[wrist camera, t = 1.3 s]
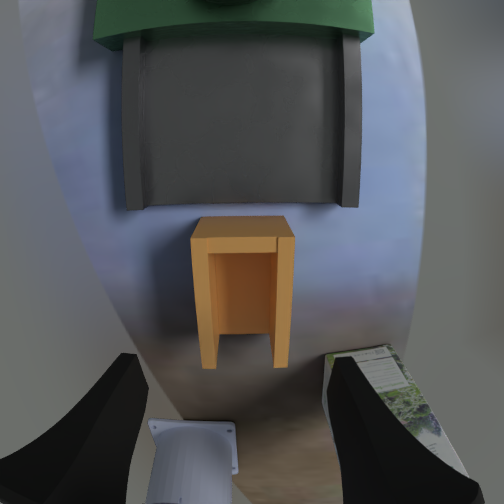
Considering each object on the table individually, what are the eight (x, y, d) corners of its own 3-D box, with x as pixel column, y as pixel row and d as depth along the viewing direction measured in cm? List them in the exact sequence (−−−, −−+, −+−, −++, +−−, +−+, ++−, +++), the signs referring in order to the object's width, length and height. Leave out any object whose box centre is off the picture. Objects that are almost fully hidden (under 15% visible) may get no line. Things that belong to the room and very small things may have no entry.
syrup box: (319, 402, 25) (357, 551, 11) (323, 350, 23) (380, 523, 9) (380, 390, 25) (439, 524, 11) (391, 339, 23) (478, 485, 9)
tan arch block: (279, 326, 22) (287, 367, 18) (208, 327, 22) (202, 368, 18) (283, 215, 20) (295, 237, 15) (201, 216, 19) (190, 238, 15)
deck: (354, 200, 19) (406, 233, 13) (115, 204, 19) (60, 238, 12) (346, -48, 13) (382, -101, 6) (123, -44, 13) (85, -93, 6)
